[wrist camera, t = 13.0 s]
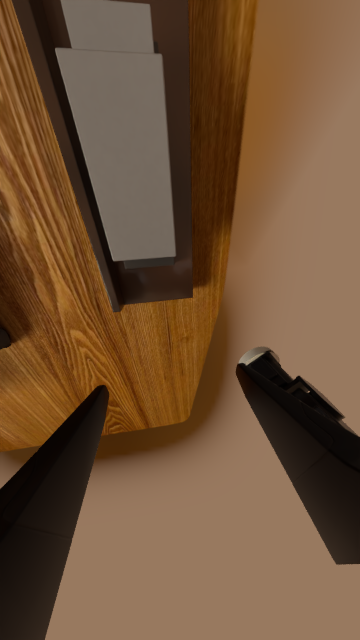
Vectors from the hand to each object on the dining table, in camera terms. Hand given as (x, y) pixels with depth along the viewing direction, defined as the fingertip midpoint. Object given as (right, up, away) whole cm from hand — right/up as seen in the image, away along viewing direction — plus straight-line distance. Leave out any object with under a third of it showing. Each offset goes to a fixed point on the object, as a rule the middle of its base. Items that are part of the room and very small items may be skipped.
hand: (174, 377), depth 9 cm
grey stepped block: (-3, +15, +2) cm, 15 cm away
